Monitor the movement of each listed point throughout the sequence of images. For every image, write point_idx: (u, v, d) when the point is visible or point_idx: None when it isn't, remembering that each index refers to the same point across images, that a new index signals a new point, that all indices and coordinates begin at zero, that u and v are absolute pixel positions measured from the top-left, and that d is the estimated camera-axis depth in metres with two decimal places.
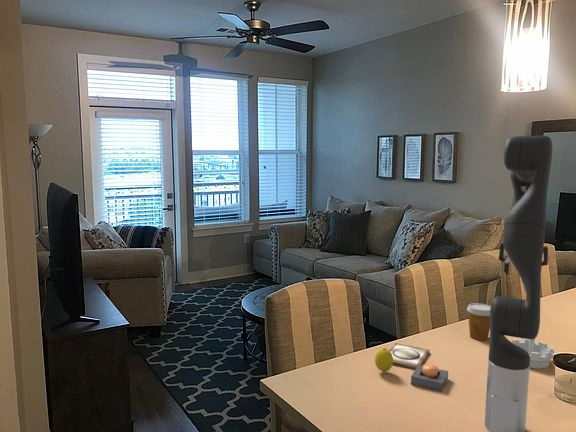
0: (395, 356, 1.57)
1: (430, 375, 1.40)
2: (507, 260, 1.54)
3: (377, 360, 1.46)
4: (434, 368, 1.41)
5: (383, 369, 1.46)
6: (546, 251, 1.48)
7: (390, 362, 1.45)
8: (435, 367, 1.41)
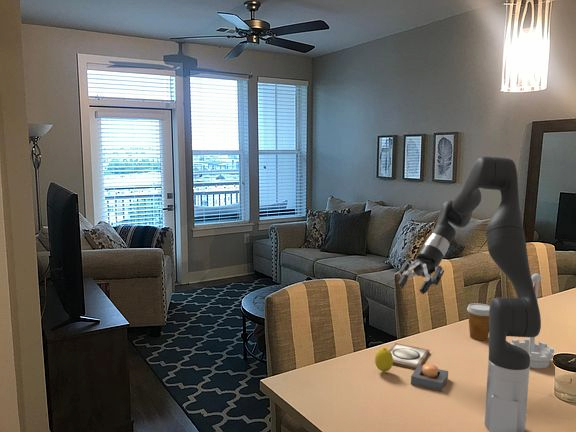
0: (395, 356, 1.57)
1: (430, 375, 1.40)
2: (405, 272, 1.57)
3: (377, 360, 1.46)
4: (434, 368, 1.41)
5: (383, 369, 1.46)
6: (439, 269, 1.50)
7: (390, 362, 1.45)
8: (435, 367, 1.41)
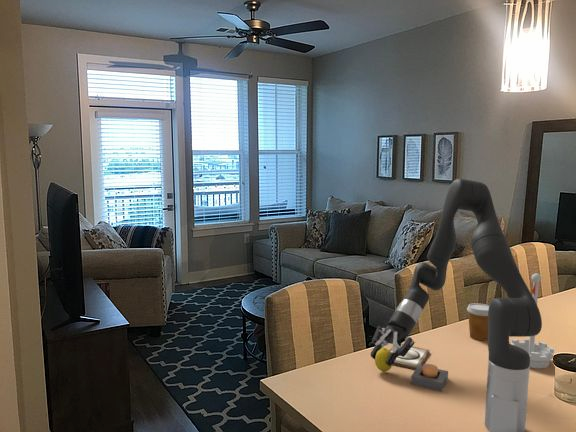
0: None
1: (430, 375, 1.40)
2: (378, 342, 1.50)
3: (377, 360, 1.46)
4: (434, 368, 1.41)
5: (383, 369, 1.46)
6: (408, 341, 1.44)
7: None
8: (435, 367, 1.41)
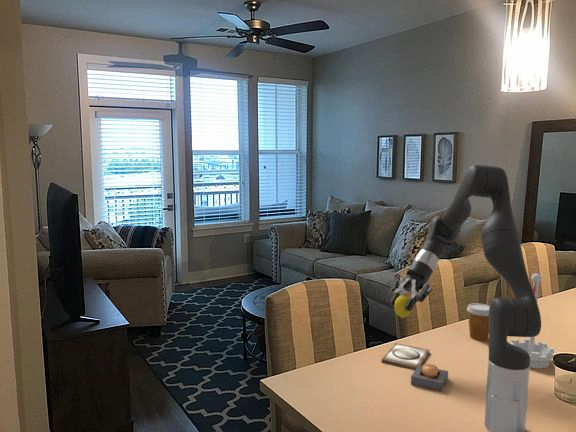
0: (395, 356, 1.57)
1: (430, 375, 1.40)
2: (396, 290, 1.58)
3: (397, 306, 1.54)
4: (434, 368, 1.41)
5: (402, 314, 1.53)
6: (426, 287, 1.52)
7: None
8: (435, 367, 1.41)
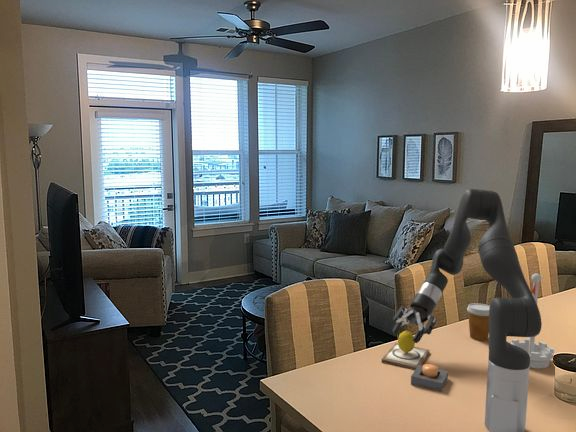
0: (395, 356, 1.57)
1: (430, 375, 1.40)
2: (399, 320, 1.62)
3: (400, 342, 1.58)
4: (434, 368, 1.41)
5: (406, 350, 1.57)
6: (431, 319, 1.55)
7: (412, 343, 1.57)
8: (435, 367, 1.41)
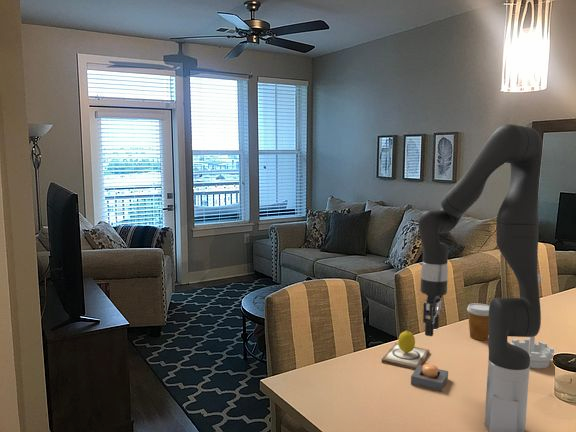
0: (395, 356, 1.57)
1: (430, 375, 1.40)
2: (433, 320, 1.36)
3: (401, 342, 1.58)
4: (434, 368, 1.41)
5: (406, 350, 1.57)
6: (441, 298, 1.44)
7: (412, 343, 1.57)
8: (435, 367, 1.41)
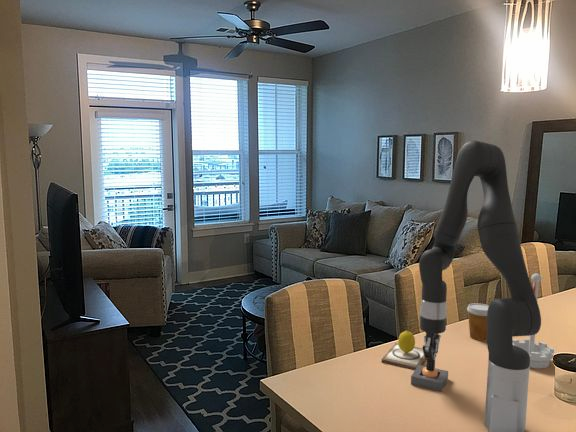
0: (395, 356, 1.57)
1: None
2: (434, 356, 1.40)
3: (401, 342, 1.58)
4: (434, 370, 1.41)
5: (406, 350, 1.57)
6: (439, 339, 1.45)
7: (412, 343, 1.57)
8: (435, 370, 1.42)
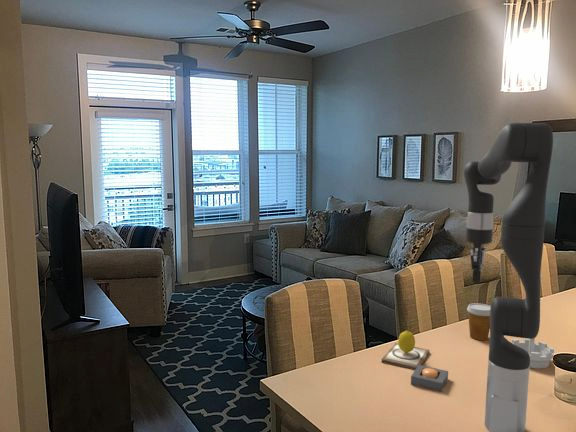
0: (395, 356, 1.57)
1: None
2: (481, 267, 1.44)
3: (401, 342, 1.58)
4: (434, 372, 1.41)
5: (406, 350, 1.57)
6: None
7: (412, 343, 1.57)
8: (435, 371, 1.42)
